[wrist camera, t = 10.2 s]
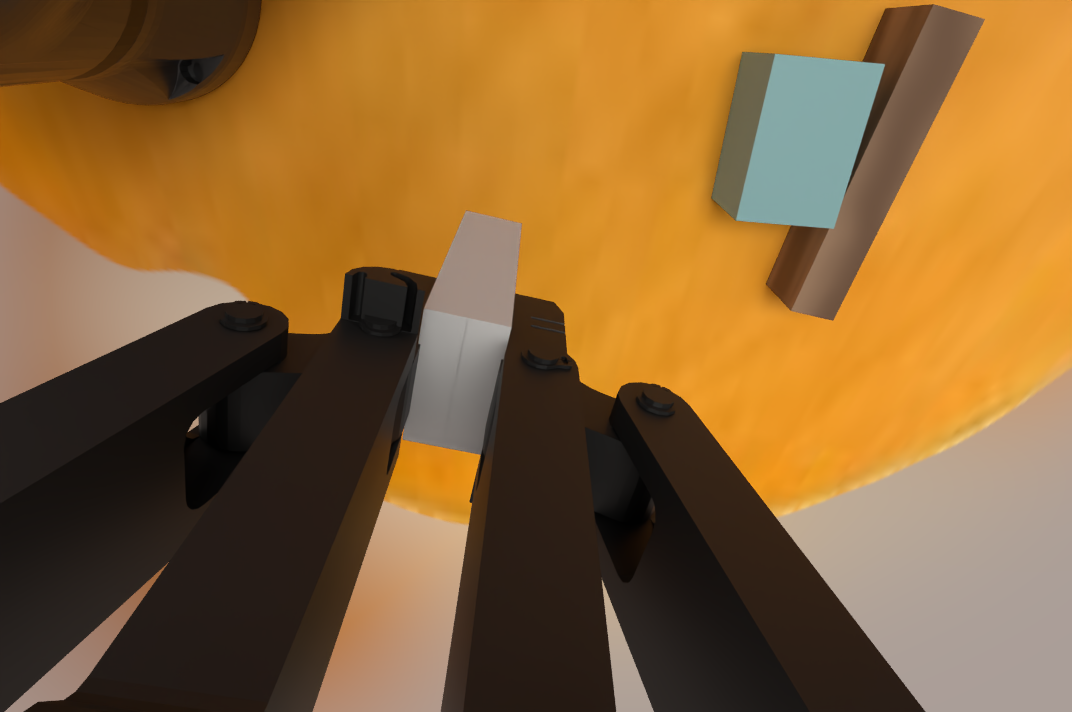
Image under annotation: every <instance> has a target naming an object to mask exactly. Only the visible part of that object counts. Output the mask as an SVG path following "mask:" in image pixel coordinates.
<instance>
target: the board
mask: <svg viewBox="0 0 1072 712" xmlns="http://www.w3.org/2000/svg"><path fill="white" fill-rule="evenodd" d="M984 20H985V19H982V18H979V17H975V16H972V15H968V14H965V13H962V12H958V11H955V10H951V9H948V8H944V7H941V6H938V5H934V4H932V5H921V6H910V7H898V8H887V9H886V10H885V12H884V14H883V16H882V19H881V21H880V23H879V26H878V28H877V30H876V33H875V35H874V37H873V39H872V42H871V44H870V46H869V49H868V51H867V53H866V56H865V58H864V60H863V62H867V63H878V64H885V67H884V70H883V73H882V76H881V79H880V83H879V86H878V89H877V92H876V95H875V99H874V102H873V105H872V108H871V111H870V115H869V118H868V121H867V124H866V127H865V131H864V134H863V137H862V140H861V143H860V147H859V150H858V153H857V156H856V159H855V163H854V166H853V169H852V172H851V175H850V179H849V182H848V185H847V188H846V191H845V195H844V198H843V201H842V204H841V208H840V211H839V214H838V217H837V220H836V224H835V227H834V229H830V228H819V227H807V226H795V225H792V226H791V228H790V230H789V232H788V235H787V237H786V239H785V242H784V244H783V246H782V249H781V251H780V253H779V255H778V258H777V260H776V262H775V265H774V267H773V269H772V271H771V274H770V276H769V278H768V281H767V283H766V284H767V285H768V287H769V288H770V289H771V290H772V291H773V292H774V293H775V294H776V295H777V296H778V297H779V298H780V300H781V301H782V302H783V303H784V304H785V305H786V306H787V307H788V308H789V309H790V310H791V311H794V312H798V313H802V314H807V315H811V316H815V317H820V318H824V319H828V320H834V318H835V316H836V314H837V312H838V310H839V308H840V306H841V304H842V302H843V300H844V298H845V296H846V294H847V292H848V290H849V288H850V286H851V284H852V282H853V280H854V278H855V276H856V274H857V272H858V270H859V268H860V266H861V264H862V262H863V260H864V258H865V256H866V254H867V252H868V250H869V248H870V246H871V244H872V242H873V240H874V238H875V236H876V234H877V232H878V230H879V228H880V227H881V225H882V223H883V221H884V219H885V217H886V215H887V213H888V211H889V209H890V207H891V205H892V203H893V201H894V199H895V197H896V195H897V193H898V191H899V189H900V187H901V185H902V183H903V181H904V179H905V177H906V175H907V173H908V171H909V169H910V167H911V165H912V163H913V161H914V159H915V157H916V155H917V153H918V151H919V149H920V147H921V145H922V143H923V141H924V139H925V137H926V135H927V133H928V131H929V129H930V127H931V125H932V123H933V121H934V119H935V117H936V115H937V113H938V111H939V109H940V107H941V105H942V103H943V101H944V99H945V97H946V96H947V94H948V92H949V90H950V88H951V86H952V84H953V82H954V80H955V78H956V76H957V74H958V72H959V70H960V68H961V66H962V64H963V62H964V60H965V58H966V56H967V54H968V52H969V50H970V48H971V46H972V44H973V42H974V40H975V38H976V36H977V34H978V32H979V30H980V28H981V26H982V24H983V22H984Z"/></svg>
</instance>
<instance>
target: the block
mask: <svg viewBox="0 0 1072 712" xmlns="http://www.w3.org/2000/svg"><path fill="white" fill-rule="evenodd" d="M884 67H885V64H878V63H867V62H856V61H846V60H835V59H824V58H814V57H803V56H792V55H782V54H769V53H752V52H742V57H741V62H740V66H739V71H738V76H737V80H736V85H735V90H734V94H733V99H732V104H731V108H730V113H729V118H728V122H727V127H726V132H725V136H724V141H723V146H722V151H721V155H720V160H719V165H718V169H717V174H716V179H715V183H714V188H713V193H712V197H711V198H712V199H713V200H714V201H715V202H716V203H717V204H718V205H719V206H721V207H722V208H723V209H724V210H725V211H726V212H727V213H728V214H729V215H730V216H731V217H733V218H734V219H735V220H736V221H747V222H759V223H771V224H783V225H795V226H807V227H819V228H830V229H834V227H835V224H836V220H837V217H838V214H839V211H840V208H841V204H842V201H843V198H844V195H845V191H846V188H847V185H848V182H849V179H850V175H851V172H852V169H853V166H854V163H855V159H856V156H857V153H858V150H859V147H860V143H861V140H862V137H863V134H864V131H865V127H866V124H867V121H868V118H869V115H870V111H871V108H872V105H873V102H874V99H875V95H876V92H877V89H878V86H879V83H880V79H881V76H882V73H883V70H884Z"/></svg>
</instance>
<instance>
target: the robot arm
mask: <svg viewBox="0 0 1072 712" xmlns="http://www.w3.org/2000/svg"><path fill="white" fill-rule="evenodd" d="M260 9H261V0H0V87H3V86H14V85H24V84H35V83H46V82H56V81H61V82H64V83H66V84H69V85H72V86H74V87H77V88H79V89H82V90H85V91H87V92H90V93H93V94H95V95H98V96H101V97H104V98H107V99H110V100H114V101H118V102H123V103H129V104H137V105H161V104H169V103H175V102H181V101H186V100H190V99H194V98H197V97H200V96H202V95H205V94H207V93H209V92H211V91H213V90H214V89H216V88H217V87H219V86H220V85H222V84H223V83H224V82H225V81H227V80H228V79H229V78H230V77H231V76H232V75H233V74H234V72H235V71H236V70H237V69H238V68H239V66H240V65H241V63H242V62H243V61H244V59H245V57H246V55H247V54H248V52H249V49H250V47H251V45H252V43H253V40H254V37H255V34H256V30H257V27H258V22H259V16H260ZM521 226H522V224H521V223H517V222H513V221H509V220H504V219H500V218H496V217H492V216H487V215H483V214H479V213H474V212H470V211H466V212H465V214H464V217H463V219H462V221H461V224H460V226H459V228H458V231H457V233H456V235H455V237H454V240H453V242H452V244H451V247H450V249H449V251H448V254H447V256H446V258H445V261H444V263H443V265H442V268H441V270H440V272H439V275H438V277H437V278H434V277H430V276H425V275H421V274H416V273H412V272H407V271H402V270H395V269H390V268H383V267H361V268H356V269H352V270H350V271H349V272H347V273H345V281H344V291H343V302H342V312H341V319H340V320H339V322H338V323H337V325H336V326H335V328H334V329H333V330H332V332H331V333H327V334H294V333H288V327H289V325H288V318H287V317H286V316H285V315H284V314H283V313H282V312H281V311H279V310H277V309H274V308H272V307H270V306H266V305H262V304H259V303H257V302H251V301H248V302H246V301H235V302H231V303H221V304H218V305H214V306H211V307H208V308H205V309H203V310H201V311H199V312H197V313H195V314H192V315H190V316H188V317H186V318H184V319H182V320H179V321H177V322H175V323H173V324H171V325H168V326H166V327H164V328H162V329H160V330H158V331H156V332H153V333H151V334H149V335H147V336H145V337H143V338H140V339H138V340H136V341H134V342H132V343H130V344H127V345H125V346H123V347H121V348H119V349H117V350H115V351H112V352H110V353H108V354H106V355H104V356H101V357H99V358H97V359H95V360H93V361H91V362H88V363H86V364H84V365H82V366H80V367H78V368H75V369H73V370H71V371H69V372H67V373H65V374H62V375H60V376H58V377H56V378H54V379H52V380H49V381H47V382H45V383H43V384H41V385H39V386H37V387H35V388H32V389H30V390H28V391H26V392H23V393H21V394H19V395H17V396H15V397H13V398H10V399H8V400H6V401H4V402H2V403H0V712H4V711H6V710H7V709H8V708H9V707H10V706H11V705H12V704H13V703H14V702H15V701H16V700H18V699H19V698H20V697H21V696H22V695H23V694H24V693H25V692H26V691H28V690H29V689H30V688H31V687H32V686H33V685H34V684H35V683H36V682H37V681H38V680H39V679H41V678H42V677H43V676H44V675H45V674H46V673H47V672H48V671H49V670H51V669H52V668H53V667H54V666H55V665H56V664H57V663H58V662H59V661H60V660H62V659H63V658H64V657H65V656H66V655H67V654H68V653H69V652H70V651H71V650H73V649H74V648H75V647H76V646H77V645H78V644H79V643H80V642H81V641H83V640H84V639H85V638H86V637H87V636H88V635H89V634H90V633H91V632H92V631H94V630H95V629H96V628H97V627H98V626H99V625H100V624H101V623H102V622H103V621H105V620H106V618H108V617H109V616H110V615H111V614H112V613H113V612H114V611H115V610H117V609H118V608H119V607H120V606H121V605H122V604H123V603H124V602H125V601H126V600H127V599H129V598H130V597H131V596H132V595H133V594H134V593H135V592H136V591H137V590H139V589H140V588H141V587H142V586H143V585H144V584H145V583H146V582H147V581H148V580H150V579H151V578H152V577H153V576H154V575H155V574H156V573H157V572H158V571H159V570H161V569H162V568H163V567H164V566H165V565H166V564H167V563H168V562H169V563H168V564H167V566H166V567H165V568H164V570H163V571H162V573H161V574H160V576H159V577H158V578H157V580H156V581H155V583H154V584H153V586H152V587H151V588H150V590H149V591H148V593H147V594H146V596H145V597H144V598H143V600H142V601H141V603H140V604H139V605H138V607H137V608H136V610H135V611H134V612H133V614H132V616H131V617H130V618H129V620H128V621H127V622H126V624H125V625H124V627H123V628H122V629H121V631H120V632H119V634H118V635H117V637H116V638H115V640H114V641H113V642H112V644H111V645H110V647H109V648H108V649H107V651H106V652H105V654H104V655H103V656H102V658H101V659H100V661H99V662H98V664H97V665H96V666H95V668H94V669H93V671H92V672H91V674H90V675H89V676H88V677H87V679H86V680H85V681H84V682H83V684H82V685H81V686H80V687H79V688H78V690H77V691H76V692H74V693H73V694H72V695H70V696H69V697H67V698H66V699H65V700H59V701H46V702H37V703H36V704H34V705H33V706H31V707H30V708H28V709H27V710H26V711H24V712H312V711H313V708H314V706H315V702H316V700H317V697H318V693H319V691H320V687H321V685H322V682H323V679H324V676H325V673H326V670H327V667H328V664H329V661H330V658H331V655H332V652H333V649H334V646H335V643H336V640H337V637H338V634H339V631H340V628H341V625H342V622H343V619H344V616H345V613H346V610H347V607H348V604H349V601H350V598H351V595H352V592H353V589H354V586H355V583H356V580H357V577H358V574H359V571H360V568H361V565H362V562H363V559H364V556H365V553H366V550H367V547H368V544H369V541H370V539H371V536H372V533H373V529H374V527H375V524H376V520H377V518H378V515H379V512H380V509H381V506H382V503H383V500H384V497H385V494H386V491H387V488H388V485H389V482H390V479H391V476H392V473H393V470H394V467H395V464H396V461H397V458H398V454H399V448H400V442H401V436H402V432H403V429H404V433H403V440H408V441H413V442H418V443H424V444H429V445H434V446H439V447H444V448H449V449H455V450H460V451H465V452H470V453H475V454H480V455H481V456H480V460H479V464H478V469H477V473H476V477H475V481H474V485H473V490H472V494H471V498H470V503H472V508H471V514H470V521H469V528H468V534H467V541H466V547H465V555H464V561H463V567H462V574H461V581H460V588H459V595H458V601H457V607H456V614H455V621H454V627H453V634H452V641H451V647H450V654H449V660H448V667H447V674H446V681H445V687H444V694H443V700H442V707H441V712H616V706H615V697H614V687H613V679H612V669H611V660H610V651H609V642H608V634H607V625H606V615H605V606H604V597H603V588H602V580H603V582H604V585H605V588H606V590H607V593H608V595H609V598H610V600H611V603H612V606H613V608H614V611H615V613H616V616H617V618H618V621H619V623H620V626H621V628H622V631H623V634H624V636H625V639H626V641H627V644H628V646H629V649H630V652H631V654H632V657H633V659H634V662H635V664H636V667H637V669H638V672H639V674H640V677H641V680H642V682H643V684H644V687H645V689H646V692H647V695H648V698H649V700H650V703H651V705H652V708H653V710H654V712H925V711H924V710H923V708H922V707H921V705H920V704H919V703H918V702H917V700H916V699H915V698H914V696H913V695H912V694H911V693H910V691H909V690H908V689H907V687H906V686H905V685H904V683H903V682H902V681H901V679H900V678H899V677H898V676H897V674H896V673H895V672H894V670H893V669H892V668H891V666H890V665H889V664H888V663H887V661H886V660H885V659H884V658H883V656H882V655H881V654H880V652H879V651H878V650H877V648H876V647H875V646H874V644H873V643H872V642H871V641H870V639H869V638H868V637H867V635H866V634H865V633H864V631H863V630H862V629H861V628H860V626H859V625H858V624H857V622H856V621H855V620H854V619H853V617H852V616H851V615H850V613H849V612H848V611H847V609H846V608H845V607H844V605H843V604H842V603H841V602H840V601H839V599H838V598H837V596H836V595H835V594H834V592H833V591H832V590H831V589H830V587H829V586H828V585H827V584H826V582H825V581H824V580H823V578H822V577H821V576H820V574H819V573H818V572H817V570H816V569H815V568H814V567H813V565H812V564H811V563H810V561H809V560H808V559H807V557H806V556H805V555H804V553H803V552H802V551H801V550H800V548H799V547H798V546H797V545H796V543H795V542H794V541H793V539H792V538H791V537H790V535H789V534H788V533H787V531H786V530H785V529H784V528H783V527H782V525H781V524H780V522H779V521H778V520H777V518H776V517H775V516H774V515H773V513H772V512H771V511H770V509H769V508H768V507H767V505H766V504H765V503H764V502H763V500H762V499H761V498H760V496H759V495H758V494H757V492H756V491H755V490H754V489H753V487H752V486H751V485H750V483H749V482H748V481H747V479H746V478H745V477H744V476H743V474H742V473H741V472H740V470H739V469H738V468H737V466H736V465H735V464H734V463H733V461H732V460H731V459H730V457H729V456H728V455H727V453H726V452H725V451H724V450H723V448H722V447H721V446H720V444H719V443H718V442H717V440H716V439H715V438H714V437H713V435H712V434H711V433H710V431H709V430H708V429H707V428H706V426H705V425H704V424H703V422H702V421H701V420H700V418H699V417H698V416H697V415H696V413H695V412H694V411H693V409H692V408H691V407H690V406H689V405H688V404H687V403H686V402H685V401H684V400H683V399H682V398H681V397H679V396H678V395H676V394H674V393H673V392H671V391H670V390H669V389H667V388H665V387H660V386H659V385H656V384H647V383H642V382H640V383H628V384H626V385H623V386H621V388H620V390H619V392H618V394H617V397H616V398H613V397H611V396H608V395H605V394H603V393H600V392H598V391H596V390H594V389H591V388H589V387H588V386H586V385H585V384H583V383H581V382H580V380H579V371H578V367H577V364H576V362H575V361H574V360H573V359H572V358H571V357H570V356H569V355H568V354H567V347H566V335H565V326H564V313H563V312H562V311H561V310H560V309H559V307H558V306H557V305H556V304H555V303H554V302H550V301H546V300H541V299H537V298H532V297H528V296H523V295H519V294H515V287H516V277H517V267H518V257H519V247H520V237H521ZM198 416H199V425H198V426H196V427H195V428H194V429H192V430H191V431H189V432H188V430H189V428H190V426H191V425H192V423H193V421H194V420H195V419H196V418H197V417H198ZM404 426H405V427H404ZM601 577H602V579H601Z"/></svg>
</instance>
